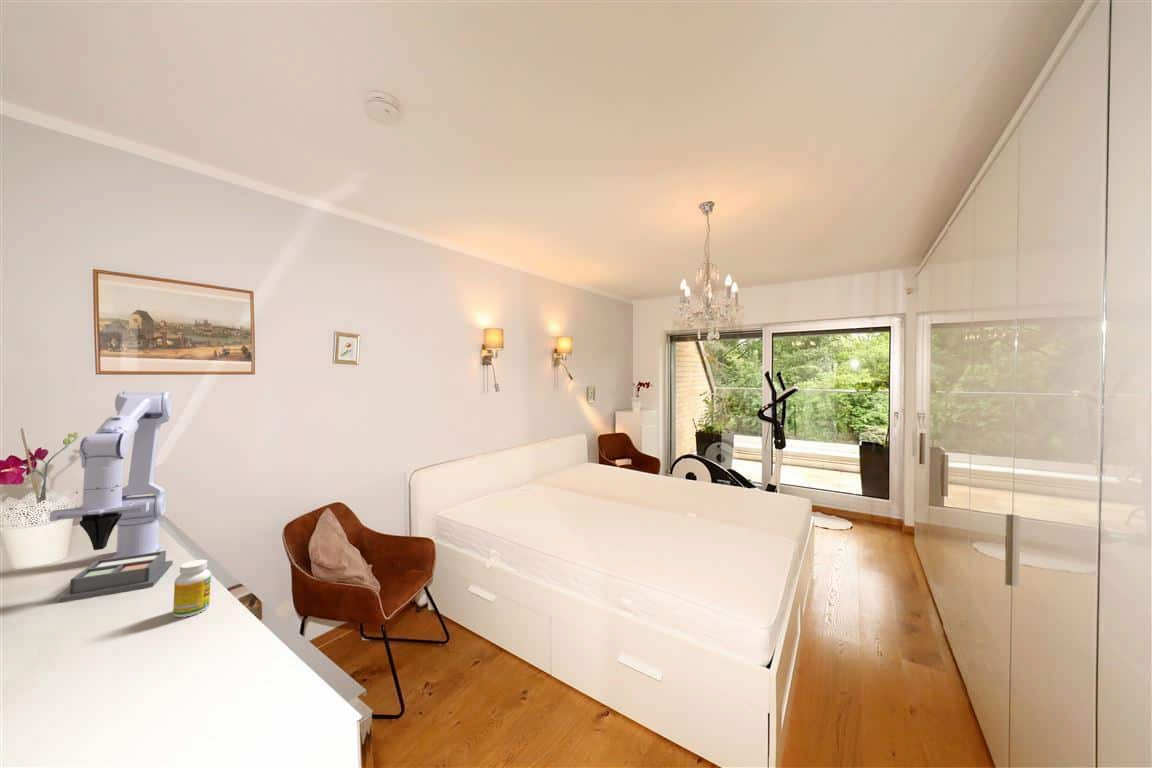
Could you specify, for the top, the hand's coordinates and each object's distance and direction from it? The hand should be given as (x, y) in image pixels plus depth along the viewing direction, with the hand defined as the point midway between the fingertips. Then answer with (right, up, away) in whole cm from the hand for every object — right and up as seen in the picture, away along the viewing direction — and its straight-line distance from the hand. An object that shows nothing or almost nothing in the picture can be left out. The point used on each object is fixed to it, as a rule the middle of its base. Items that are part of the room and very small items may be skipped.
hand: (100, 548), depth 90 cm
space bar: (-1, -7, +6) cm, 9 cm away
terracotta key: (+5, -7, +3) cm, 9 cm away
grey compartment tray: (+1, -9, +4) cm, 10 cm away
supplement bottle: (+28, -10, -8) cm, 31 cm away
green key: (0, -7, 0) cm, 7 cm away
